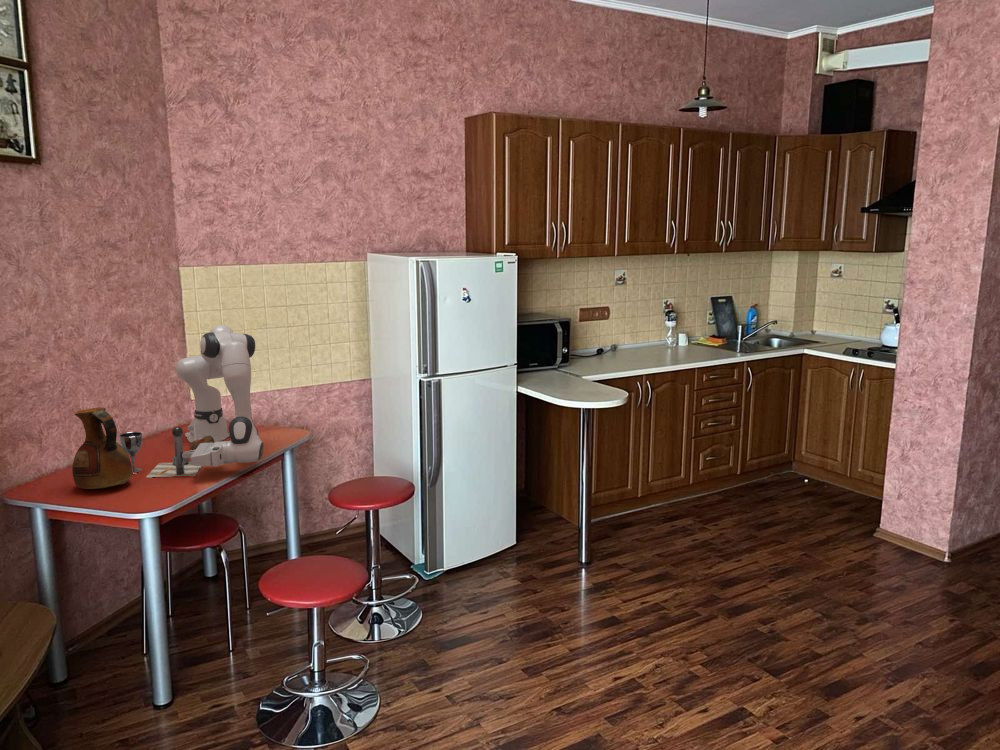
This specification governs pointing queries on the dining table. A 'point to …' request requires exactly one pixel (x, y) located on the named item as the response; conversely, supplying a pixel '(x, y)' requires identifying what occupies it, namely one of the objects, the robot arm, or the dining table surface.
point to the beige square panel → (173, 470)
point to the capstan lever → (178, 451)
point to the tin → (201, 440)
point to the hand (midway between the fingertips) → (182, 454)
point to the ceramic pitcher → (100, 453)
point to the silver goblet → (131, 445)
